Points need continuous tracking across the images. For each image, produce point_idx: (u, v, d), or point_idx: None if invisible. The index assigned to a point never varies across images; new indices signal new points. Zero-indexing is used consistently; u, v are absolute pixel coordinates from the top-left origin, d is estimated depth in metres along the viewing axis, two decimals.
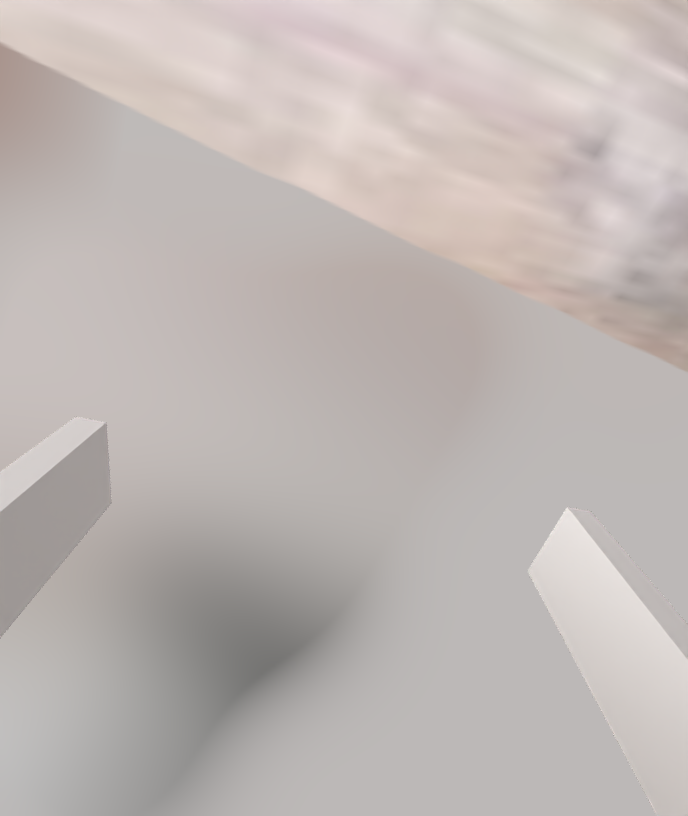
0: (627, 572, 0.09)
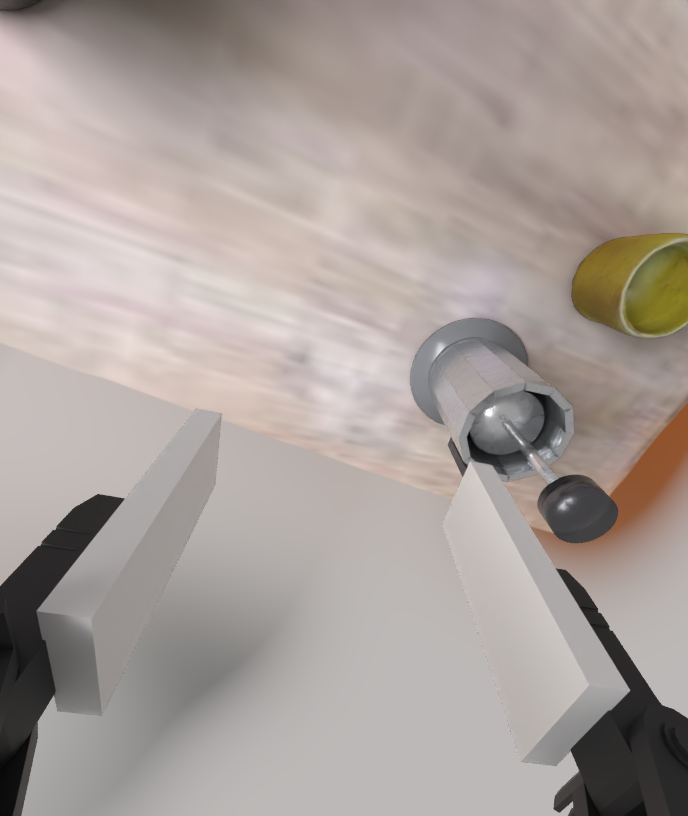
0: (504, 510, 0.10)
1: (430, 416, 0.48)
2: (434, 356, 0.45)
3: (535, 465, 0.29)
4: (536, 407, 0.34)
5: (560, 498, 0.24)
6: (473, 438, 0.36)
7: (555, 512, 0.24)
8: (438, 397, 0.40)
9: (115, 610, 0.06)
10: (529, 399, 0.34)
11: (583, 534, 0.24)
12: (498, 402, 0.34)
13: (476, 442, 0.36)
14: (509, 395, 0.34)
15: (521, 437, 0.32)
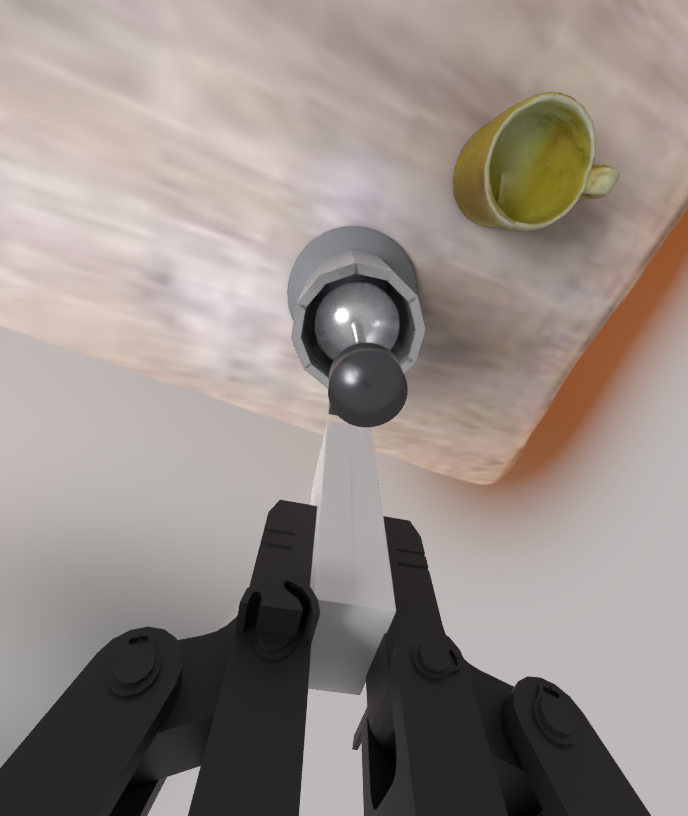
0: (360, 466, 0.10)
1: None
2: (310, 273, 0.40)
3: None
4: (387, 304, 0.29)
5: (336, 366, 0.19)
6: (322, 346, 0.31)
7: (329, 383, 0.19)
8: None
9: None
10: (377, 294, 0.29)
11: (372, 414, 0.20)
12: (342, 299, 0.29)
13: (326, 351, 0.31)
14: (353, 289, 0.29)
15: (358, 332, 0.27)
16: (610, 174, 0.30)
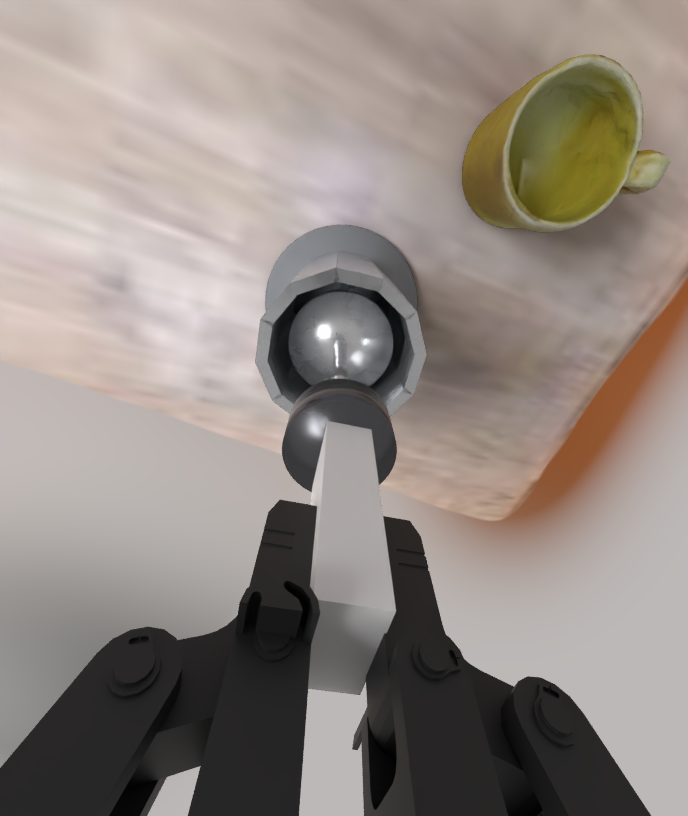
0: (360, 466, 0.10)
1: None
2: (291, 279, 0.34)
3: None
4: (377, 319, 0.24)
5: (295, 414, 0.13)
6: (298, 369, 0.25)
7: (283, 439, 0.13)
8: None
9: None
10: (365, 306, 0.23)
11: None
12: (321, 311, 0.23)
13: (303, 375, 0.25)
14: (335, 300, 0.23)
15: (339, 354, 0.21)
16: (659, 162, 0.24)
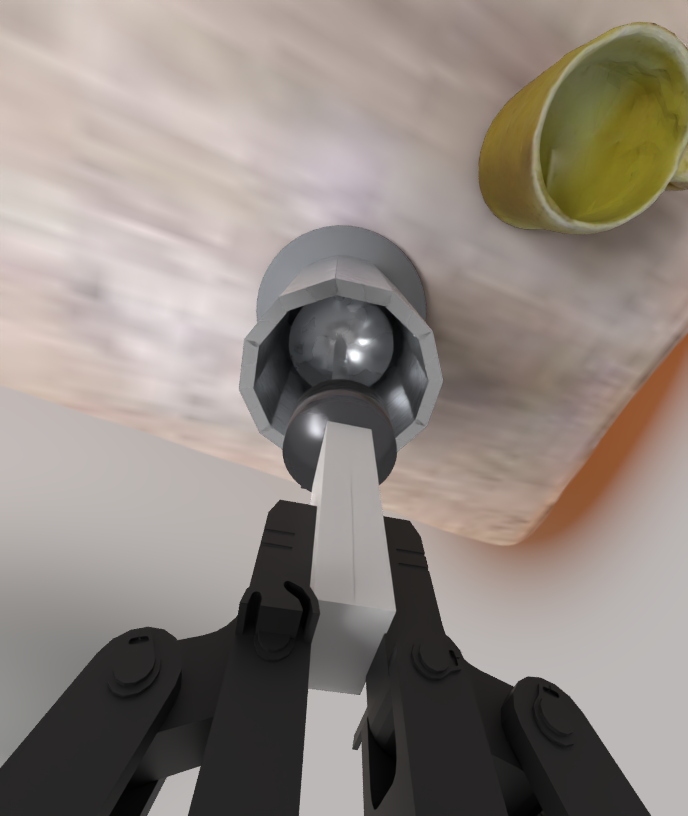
0: (360, 466, 0.10)
1: None
2: (285, 286, 0.30)
3: None
4: (378, 320, 0.24)
5: (295, 414, 0.13)
6: (298, 369, 0.25)
7: (284, 439, 0.13)
8: None
9: None
10: (366, 307, 0.23)
11: None
12: (322, 312, 0.23)
13: (303, 375, 0.25)
14: (335, 300, 0.23)
15: (339, 355, 0.21)
16: None
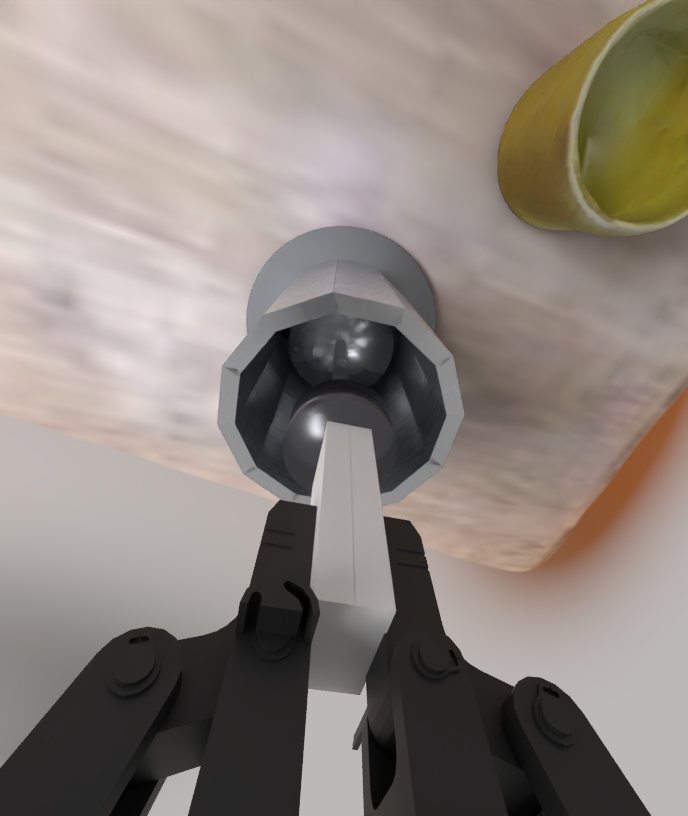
0: (360, 466, 0.10)
1: None
2: (278, 294, 0.27)
3: None
4: None
5: (295, 415, 0.13)
6: (298, 369, 0.25)
7: None
8: None
9: None
10: None
11: None
12: None
13: (303, 375, 0.25)
14: None
15: (339, 355, 0.21)
16: None
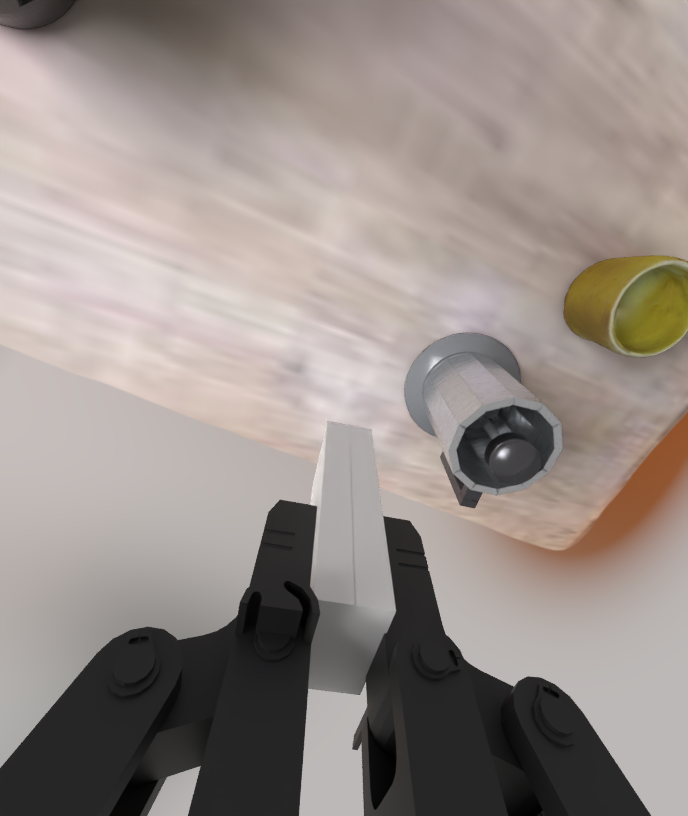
0: (360, 466, 0.10)
1: (423, 428, 0.49)
2: (428, 369, 0.45)
3: (487, 431, 0.37)
4: None
5: (498, 448, 0.31)
6: None
7: (494, 458, 0.31)
8: (430, 409, 0.41)
9: None
10: None
11: (516, 477, 0.32)
12: None
13: None
14: None
15: None
16: None
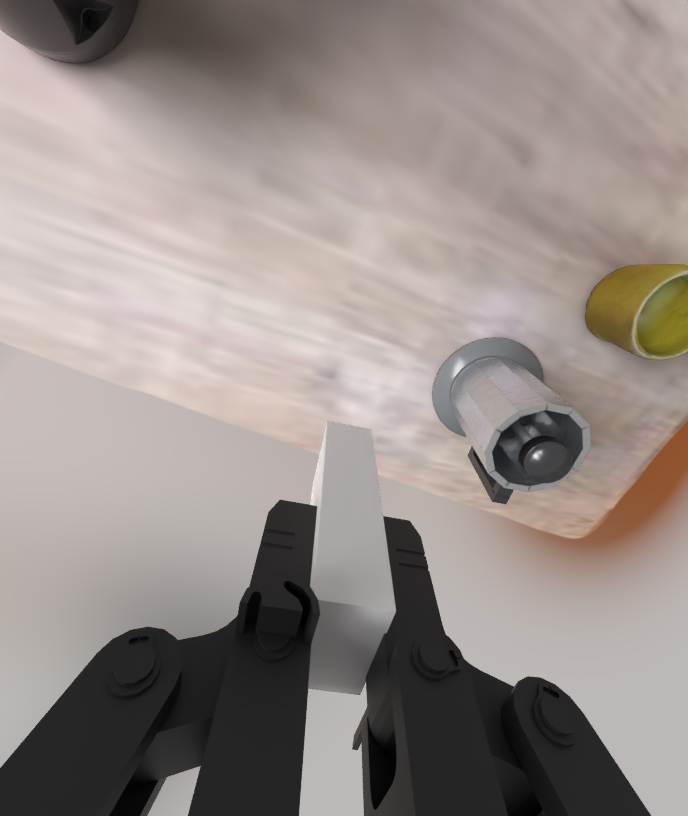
0: (360, 466, 0.10)
1: (450, 428, 0.51)
2: (455, 372, 0.48)
3: (518, 432, 0.39)
4: None
5: (533, 450, 0.34)
6: None
7: (529, 460, 0.34)
8: (461, 412, 0.43)
9: None
10: None
11: (549, 476, 0.35)
12: None
13: None
14: None
15: None
16: None
